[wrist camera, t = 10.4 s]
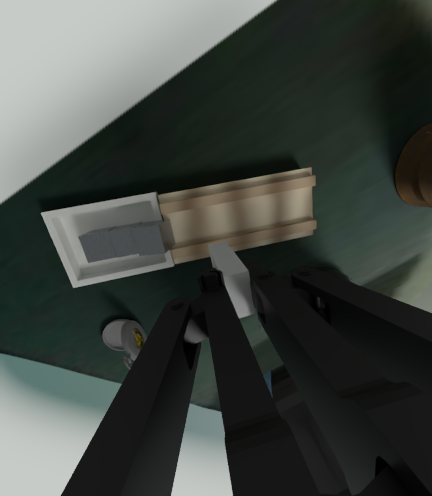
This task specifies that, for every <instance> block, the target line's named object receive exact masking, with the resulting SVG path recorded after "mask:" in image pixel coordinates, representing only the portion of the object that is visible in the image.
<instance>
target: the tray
mask: <svg viewBox="0 0 432 496" xmlns="http://www.w3.org/2000/svg"><path fill="white" fill-rule="evenodd" d="M159 204H160V202H159V198H158V193H157V192H153V193H147V194H142V195H136V196H131V197H125V198H120V199H114V200H108V201H103V202H97V203H92V204H86V205H81V206H75V207H70V208H64V209H58V210H53V211H47V212H42V213H41V215H42V217H43V219H44V222H45V224H46V226H47V228H48V231H49V233H50V235H51V238H52V240H53V242H54V245H55V247H56V249H57V251H58V254H59V256H60V258H61V261H62V263H63V265H64V268H65V270H66V272H67V274H68V277H69V279H70V281H71V284H72V286H73V288H76V287H80V286H85V285H90V284H94V283H99V282H104V281H108V280H113V279H117V278H122V277H127V276H131V275H136V274H141V273H145V272H150V271H155V270H159V269H164V268H169V267H173V266H174V263H175V262H174V259H173V257H172V253H171V249H170V250H169V251H167V252H166V253H163V254H153V255H143V256H139V254H134V255H129V256H124V257H119V258H117V257H116V258H111V259H106V260H101V261H96V262H91V263H88V261H87V259H86V256H85V253H84V251H83V248H82V246H81V243H80V240H79V238H78V236H81V235H83V234H85V233H87V232H89V231H92V230H97V229H103V228H108V227H114V226H122V225H127V224H132V223H138V222H142V223H145V222H151V221H158V220H164V218H163V215H162V214H161V210H160V206H159Z"/></svg>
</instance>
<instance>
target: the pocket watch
mask: <svg viewBox="0 0 432 496" xmlns="http://www.w3.org/2000/svg"><path fill="white" fill-rule="evenodd" d="M102 336H103V341H104V343H105V344H106V345H107V346H108V347H110V348H111V349H114V350H118V351H125V352H126V353H127V355H128V356H126V357H125V356H123V361H124V363H125V365H126V366H127V367H128V369H131V368H130V367H129V366H128V365H127V364H130V365H131V367H132V364H131V359H132V360H134V361H135V359H136V358H137V356H138V354H139V352H140V350H141V349H142V347H143V345H144V343H145V341H146V339H147V338H146V335H145V332H144V330H143V328H142V327H141V326H140V324H139V323H137V322H136V321H133V320H127V319H117V320H114V321H112V322H110V323H109V324H108V325H107V326H106V327H105V329H104V331H103V334H102ZM137 344H138V345H137ZM136 345H137V346H136ZM138 346H139V347H138ZM137 347H138V348H139V349H138V348H137ZM124 358H125V359H124ZM130 358H131V359H130Z"/></svg>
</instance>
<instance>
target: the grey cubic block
mask: <svg viewBox="0 0 432 496" xmlns="http://www.w3.org/2000/svg"><path fill="white" fill-rule="evenodd" d="M115 227H117V226H114V227H108V228H103V229H97V230H92V231H89V232H87V233H85V234H83V235H81V236H78V238H79V240H80V243H81V246H82V248H83V251H84V253H85V256H86V259H87V261H88V263H91V262H96V261H101V260H106V259H111V258H116V254H115V251H114V248H113V245H112V242H111V239H110V236H109V233H108V231H110V230H112V229H113V228H115Z"/></svg>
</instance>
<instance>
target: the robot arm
mask: <svg viewBox="0 0 432 496" xmlns="http://www.w3.org/2000/svg"><path fill="white" fill-rule="evenodd" d="M208 247H209V252H210V256H211V261H212V266H213V268H210V269H206V270H202V271H201V272H200V274H199V276H198V280H199V284H200V288H201V292H202V294H201V296H200V297H199V298H197V299H196V300H194V301H192V302H190V301H189V300H188V299H186V298H178V299H174V300H172V301H170V302H169V303H167V304H166V305H165V307H164V308H163V310H162V312H161V314H160V316H159V318H158V319H157V321H156V323H155V325H154V327H153V329H152V330H151V332H150V334H149V336H148V338H147V339H146V341H145V343H144V345H143V347H142V349H141V350H140V352H139V354H138V356H137V358H136V359H135V361H134V363H133V365H132V367H131V369H130V370H129V372H128V374H127V376H126V378H125V380H124V381H123V383H122V385H121V387H120V389H119V390H118V392H117V394H116V396H115V398H114V400H113V401H112V403H111V405H110V407H109V409H108V411H107V412H106V414H105V416H104V418H103V420H102V421H101V423H100V425H99V427H98V429H97V431H96V433H95V434H94V436H93V438H92V440H91V442H90V443H89V445H88V447H87V449H86V451H85V453H84V454H83V456H82V458H81V460H80V462H79V463H78V465H77V467H76V469H75V471H74V473H73V474H72V477H71V478H70V480H69V482H68V483H67V485H66V487H65V489H64V491H63V493H62V494H61V496H171V492H172V487H173V482H174V477H175V472H176V467H177V462H178V457H179V452H180V447H181V443H182V438H183V433H184V428H185V423H186V418H187V413H188V408H189V403H190V398H191V393H192V388H193V383H194V378H195V373H196V368H197V364H198V359H199V354H200V349H201V341H202V340H204V339H206V338H208V337H209V340H210V346H211V352H212V358H213V364H214V370H215V376H216V382H217V388H218V394H219V400H220V406H221V412H222V418H223V424H224V430H225V446H226V453H227V460H228V466H229V472H230V478H231V485H232V491H233V496H432V313H430V312H427V311H424V310H422V309H419V308H417V307H414V306H411V305H409V304H406V303H404V302H401V301H398V300H396V299H393V298H390V297H388V296H385V295H383V294H380V293H377V292H375V291H372V290H369V289H367V288H364V287H362V286H359V285H356V284H355V283H354V282H353V281H352V280H351V279H350V278H349V277H348V276H346V275H345V274H343V273H341V272H339V271H337V270H335V269H332V268H317V269H314V268H310V267H299V268H296V269H294V270H292V272H291V276H292V277H281V278H280V277H279V276H278V275H277V274H275V273H274V272H272V271H265V270H264V269H263V268H262V267H261V266H260V265H259V264H258V263H257V262H256V261H255V260H253V259H246V260H240V259H239V258H238V256H237V255H236V254H235V253H234V251H233V250H232V249H231V247H230V246H229V245H228V244H227V242H226V241H223V242H219V243H214V244H210V245H208ZM254 306H255V307H254ZM255 308H256V309H257V314H258V320H259V326H260V330H262V326H263V328H264V330H265V331H266V333H267V335H268V337H269V338H270V340H271V342H272V344H273V346H274V347H275V349H276V351H277V353H278V355H279V356H280V358H281V360H282V362H283V363H284V364H283V365H281V366H280V367H278V368H276V369H274V370H272V369H271V370H269V371H268V373H267V374H265V375H263V374H262V372H261V369H260V367H259V365H258V362H257V360H256V358H255V355H254V353H253V351H252V348H251V346H250V343H249V341H248V339H247V336H246V334H245V332H244V329H243V327H242V324H241V322H240V320H239V318H242V317H246V316H249V315H253V314H256V313H255Z"/></svg>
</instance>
